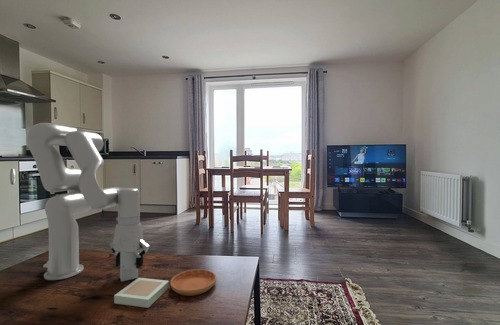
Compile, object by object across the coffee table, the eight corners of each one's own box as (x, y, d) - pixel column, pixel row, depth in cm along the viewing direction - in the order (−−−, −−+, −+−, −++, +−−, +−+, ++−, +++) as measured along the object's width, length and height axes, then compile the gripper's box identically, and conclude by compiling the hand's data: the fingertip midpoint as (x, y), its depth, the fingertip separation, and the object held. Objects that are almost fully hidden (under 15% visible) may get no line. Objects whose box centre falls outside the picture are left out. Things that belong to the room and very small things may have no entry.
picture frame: (114, 303, 77) (114, 295, 77) (138, 284, 89) (138, 277, 89) (148, 307, 75) (148, 299, 75) (169, 287, 87) (169, 280, 87)
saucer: (161, 289, 87) (161, 280, 87) (196, 272, 99) (196, 265, 99) (190, 305, 77) (190, 295, 77) (225, 284, 90) (225, 276, 90)
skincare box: (121, 282, 91) (120, 249, 91) (119, 277, 95) (119, 246, 95) (139, 277, 94) (138, 246, 94) (137, 273, 98) (137, 243, 98)
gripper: (101, 221, 93) (102, 268, 93) (143, 224, 89) (143, 272, 89) (116, 217, 100) (116, 260, 100) (155, 219, 96) (155, 263, 96)
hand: (129, 265), depth 95 cm, fingers open, 8 cm apart
